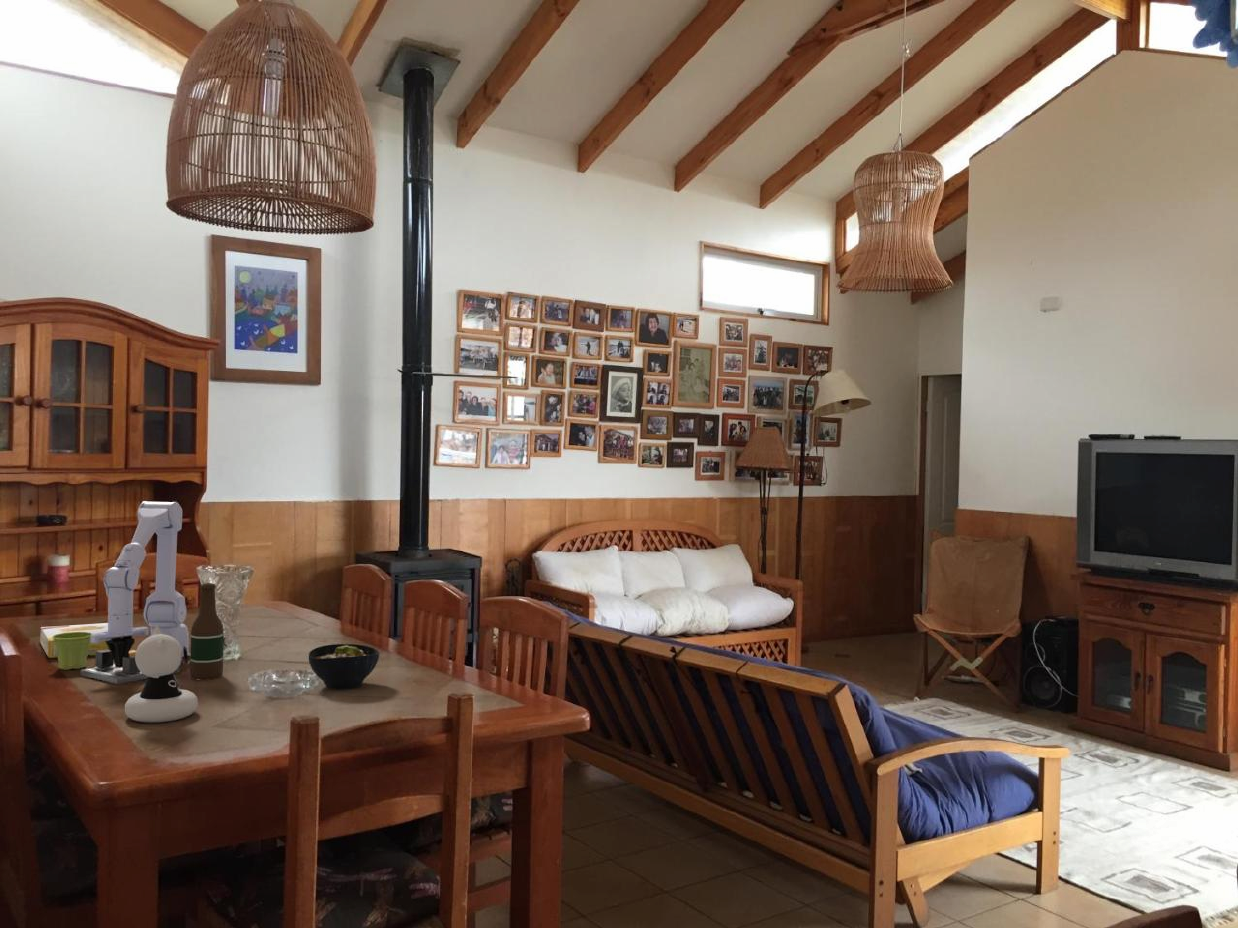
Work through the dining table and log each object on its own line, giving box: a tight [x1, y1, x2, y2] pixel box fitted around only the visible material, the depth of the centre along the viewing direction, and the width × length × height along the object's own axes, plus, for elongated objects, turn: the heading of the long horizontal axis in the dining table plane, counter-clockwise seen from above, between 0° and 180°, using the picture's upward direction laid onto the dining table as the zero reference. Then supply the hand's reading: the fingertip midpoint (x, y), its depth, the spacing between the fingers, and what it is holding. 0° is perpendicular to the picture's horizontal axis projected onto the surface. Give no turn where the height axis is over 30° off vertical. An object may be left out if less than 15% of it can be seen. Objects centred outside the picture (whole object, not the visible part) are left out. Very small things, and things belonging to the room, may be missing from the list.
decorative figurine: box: [124, 623, 199, 723], centre depth 217 cm, size 15×15×20 cm
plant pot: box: [52, 632, 93, 671], centre depth 263 cm, size 9×9×9 cm
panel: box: [80, 649, 180, 685], centre depth 257 cm, size 17×16×6 cm
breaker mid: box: [128, 649, 137, 656], centre depth 257 cm, size 3×3×4 cm
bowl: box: [308, 643, 380, 691], centre depth 248 cm, size 17×17×10 cm
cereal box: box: [39, 622, 119, 659], centre depth 289 cm, size 20×6×28 cm
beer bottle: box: [189, 582, 224, 681], centre depth 255 cm, size 8×8×24 cm
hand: (119, 666), depth 254 cm, fingers closed
